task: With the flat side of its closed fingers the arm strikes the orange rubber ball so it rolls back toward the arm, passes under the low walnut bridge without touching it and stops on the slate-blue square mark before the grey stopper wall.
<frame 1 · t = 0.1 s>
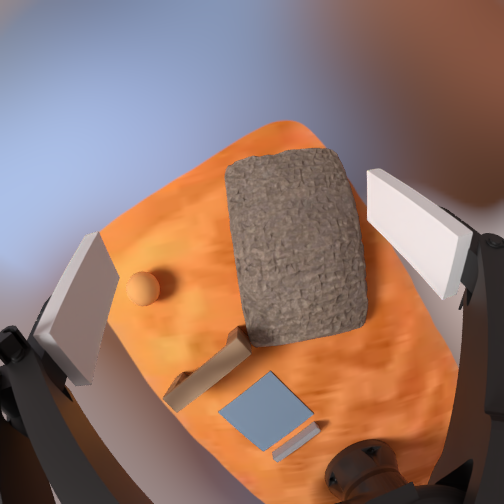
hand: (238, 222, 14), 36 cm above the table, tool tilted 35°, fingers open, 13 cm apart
stone tablet: (294, 246, 51), on the table
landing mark: (266, 414, 48), on the table
bridge: (211, 359, 48), on the table
stopper wall: (294, 439, 48), on the table
ball: (143, 288, 46), on the table
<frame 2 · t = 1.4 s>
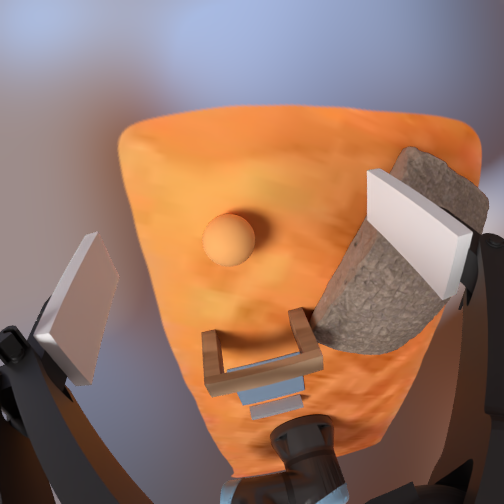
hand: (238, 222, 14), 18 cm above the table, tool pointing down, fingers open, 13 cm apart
stone tablet: (397, 255, 41), on the table
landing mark: (268, 381, 50), on the table
bridge: (253, 327, 43), on the table
stopper wall: (275, 402, 54), on the table
ball: (228, 240, 32), on the table
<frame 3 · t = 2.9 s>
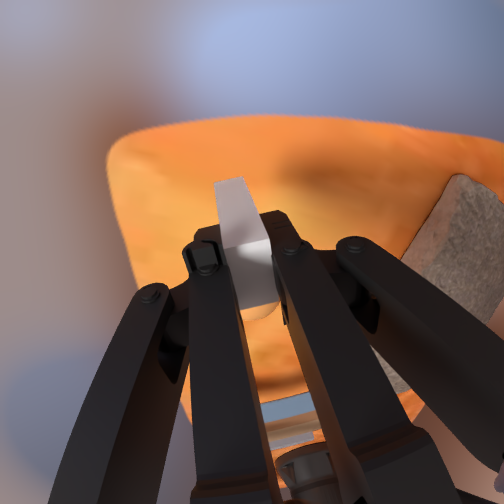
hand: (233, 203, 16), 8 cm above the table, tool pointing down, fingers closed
stone tablet: (428, 290, 35), on the table
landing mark: (279, 417, 44), on the table
bridge: (268, 370, 36), on the table
stopper wall: (283, 434, 48), on the table
ball: (249, 287, 25), on the table
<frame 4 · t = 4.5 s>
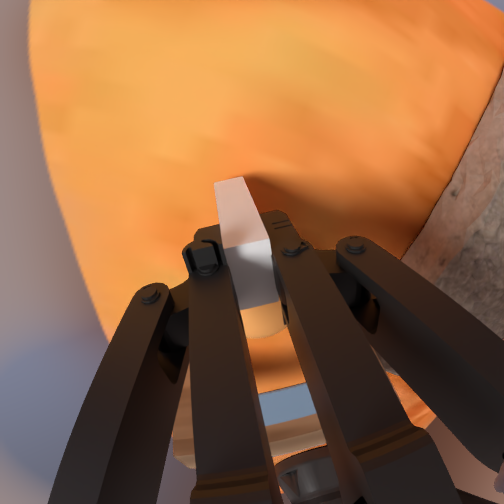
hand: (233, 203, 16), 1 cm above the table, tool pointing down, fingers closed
stone tablet: (485, 226, 22), on the table
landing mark: (280, 414, 32), on the table
bridge: (265, 342, 24), on the table
ball: (255, 289, 17), on the table
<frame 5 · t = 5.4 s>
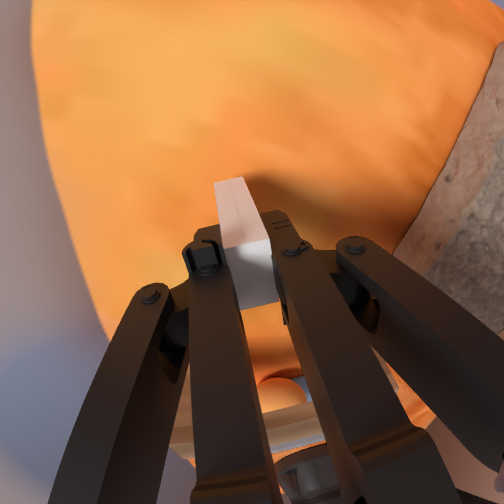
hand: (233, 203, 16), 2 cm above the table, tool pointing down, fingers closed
stone tablet: (482, 215, 22), on the table
bridge: (261, 332, 24), on the table
stopper wall: (284, 433, 36), on the table
ball: (278, 405, 26), on the table
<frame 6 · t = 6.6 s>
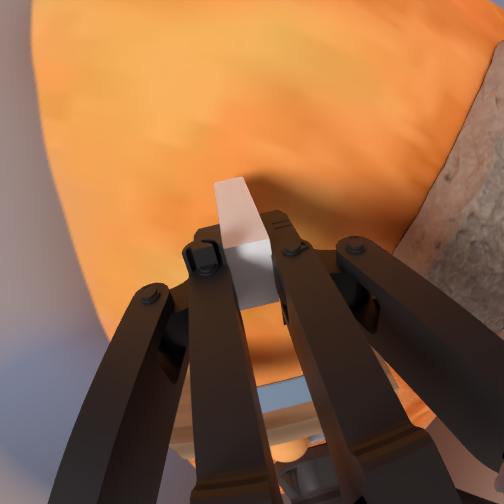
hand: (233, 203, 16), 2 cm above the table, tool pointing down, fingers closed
stone tablet: (482, 214, 22), on the table
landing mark: (278, 408, 31), on the table
bridge: (261, 332, 24), on the table
ball: (286, 442, 32), on the table
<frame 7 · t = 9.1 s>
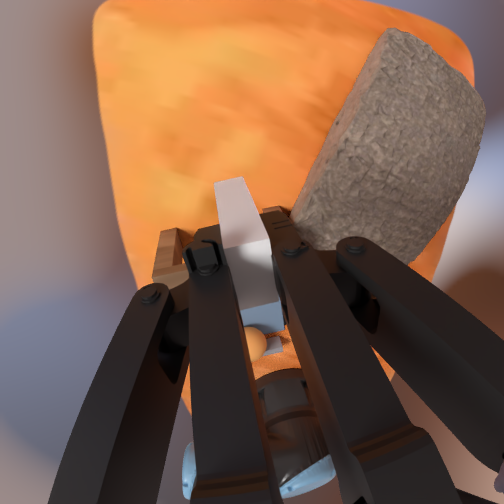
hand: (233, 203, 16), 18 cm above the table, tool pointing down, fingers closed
stone tablet: (388, 156, 35), on the table
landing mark: (241, 311, 44), on the table
bridge: (221, 228, 37), on the table
stopper wall: (249, 344, 49), on the table
ball: (248, 344, 45), on the table
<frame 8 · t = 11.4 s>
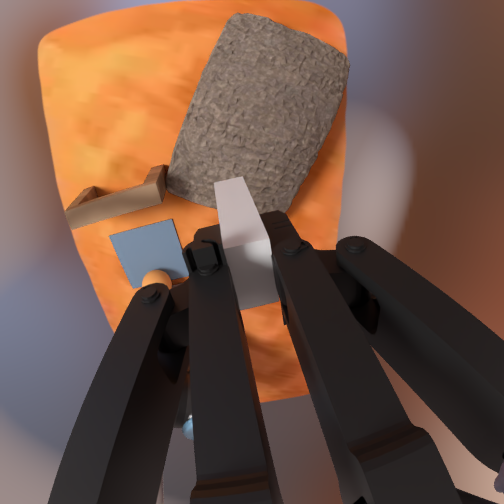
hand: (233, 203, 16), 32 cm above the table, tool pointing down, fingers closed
stone tablet: (254, 116, 44), on the table
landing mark: (150, 255, 53), on the table
bridge: (124, 185, 46), on the table
ball: (156, 284, 53), on the table
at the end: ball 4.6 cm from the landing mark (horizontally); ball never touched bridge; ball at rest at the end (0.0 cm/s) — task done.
